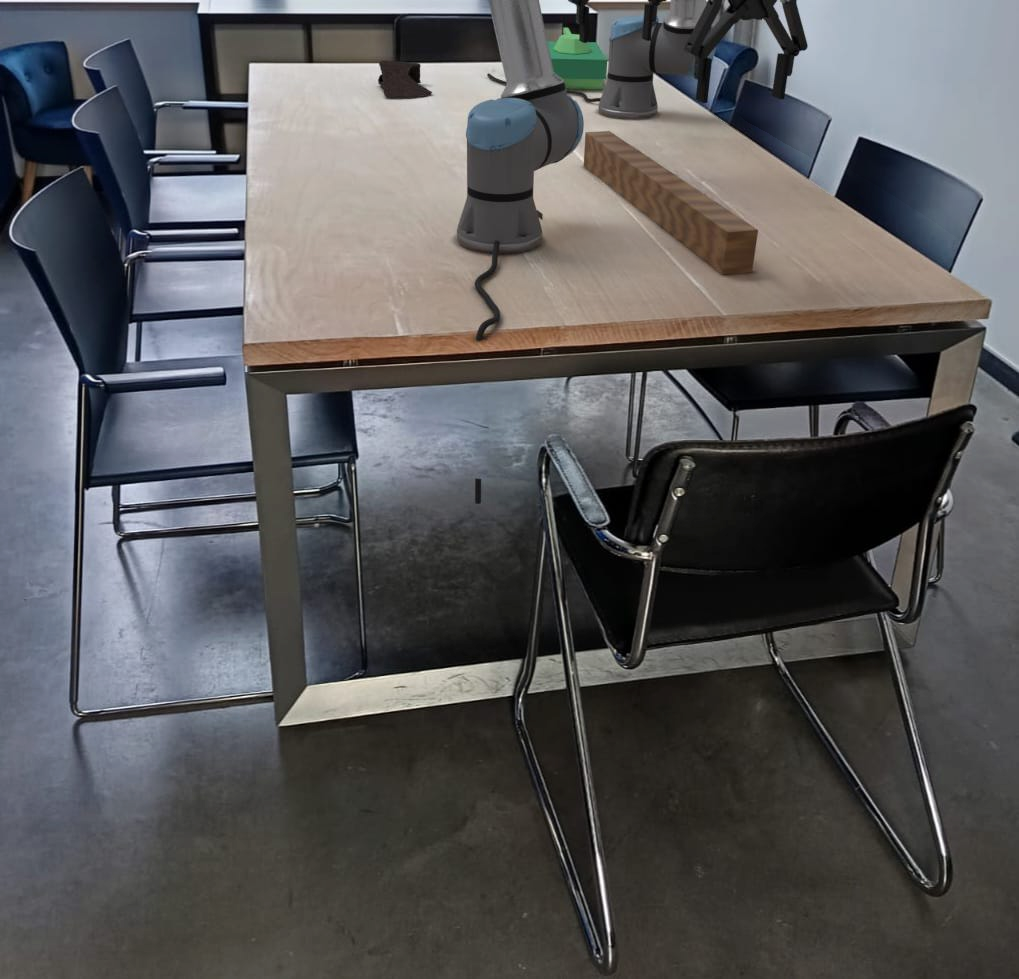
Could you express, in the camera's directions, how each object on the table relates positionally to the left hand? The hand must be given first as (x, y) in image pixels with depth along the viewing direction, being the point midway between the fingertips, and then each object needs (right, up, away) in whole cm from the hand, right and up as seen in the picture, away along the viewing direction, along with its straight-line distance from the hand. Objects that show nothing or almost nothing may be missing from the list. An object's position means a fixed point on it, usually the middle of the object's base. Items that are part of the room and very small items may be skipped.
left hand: (740, 99), depth 175 cm
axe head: (-66, +47, +125) cm, 149 cm away
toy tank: (-20, +57, +143) cm, 155 cm away
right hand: (-16, +28, +44) cm, 55 cm away
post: (-8, -9, +36) cm, 38 cm away
